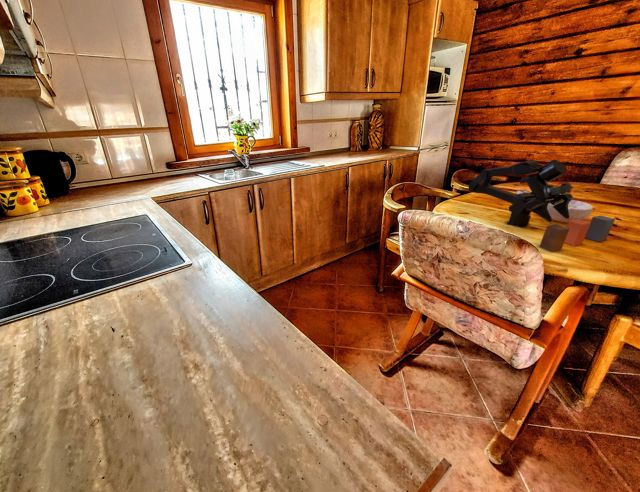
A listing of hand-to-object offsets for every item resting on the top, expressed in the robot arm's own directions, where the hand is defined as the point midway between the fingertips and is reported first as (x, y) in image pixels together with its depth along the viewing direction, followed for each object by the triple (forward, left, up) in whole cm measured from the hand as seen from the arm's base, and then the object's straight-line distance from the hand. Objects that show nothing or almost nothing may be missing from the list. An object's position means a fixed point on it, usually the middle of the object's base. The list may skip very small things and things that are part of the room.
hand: (559, 219), depth 112 cm
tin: (-19, +36, -8) cm, 41 cm away
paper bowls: (-1, +26, -8) cm, 27 cm away
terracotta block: (+6, -3, -7) cm, 10 cm away
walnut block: (+1, -14, -7) cm, 16 cm away
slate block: (+11, +8, -7) cm, 16 cm away
